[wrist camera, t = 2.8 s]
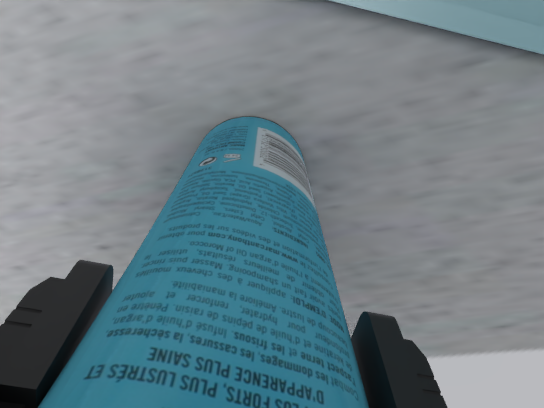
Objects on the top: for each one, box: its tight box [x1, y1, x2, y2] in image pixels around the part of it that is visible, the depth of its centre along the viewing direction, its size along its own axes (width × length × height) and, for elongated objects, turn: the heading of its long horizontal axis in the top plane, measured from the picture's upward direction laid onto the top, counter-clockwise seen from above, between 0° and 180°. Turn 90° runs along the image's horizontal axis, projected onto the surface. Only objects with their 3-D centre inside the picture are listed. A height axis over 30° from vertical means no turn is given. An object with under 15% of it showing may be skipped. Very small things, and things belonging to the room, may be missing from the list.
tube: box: [38, 117, 369, 408], centre depth 11 cm, size 7×5×19 cm, turn 77°
